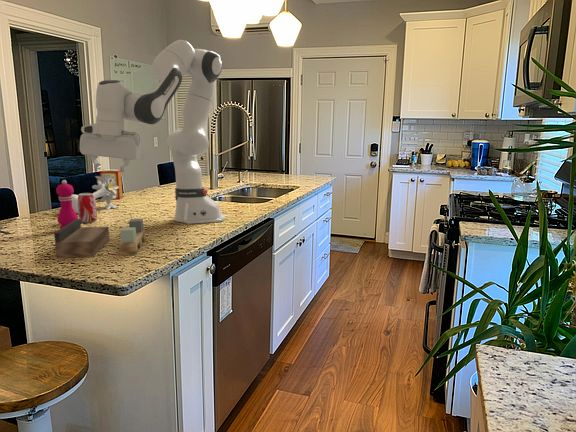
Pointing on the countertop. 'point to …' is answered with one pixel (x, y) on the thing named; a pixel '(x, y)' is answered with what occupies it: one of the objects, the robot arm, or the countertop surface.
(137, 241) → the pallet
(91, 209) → the soda can
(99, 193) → the flower vase
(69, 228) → the block
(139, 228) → the block
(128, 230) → the block
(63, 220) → the pepper mill
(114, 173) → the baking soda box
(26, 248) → the countertop surface
